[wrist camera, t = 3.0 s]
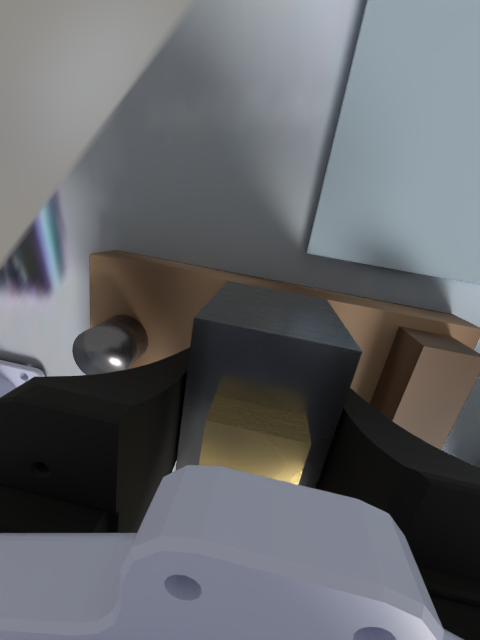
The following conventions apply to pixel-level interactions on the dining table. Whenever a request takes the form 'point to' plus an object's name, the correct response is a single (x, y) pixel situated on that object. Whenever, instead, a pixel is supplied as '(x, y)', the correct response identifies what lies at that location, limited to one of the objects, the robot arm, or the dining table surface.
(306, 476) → the dark grey block
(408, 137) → the blue-grey mat
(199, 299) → the body
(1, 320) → the dining table surface
